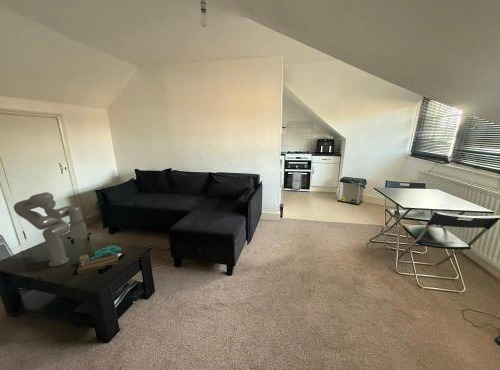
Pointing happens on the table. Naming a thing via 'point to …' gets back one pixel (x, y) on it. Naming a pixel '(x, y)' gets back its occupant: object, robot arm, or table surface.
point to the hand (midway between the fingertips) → (81, 242)
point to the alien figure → (106, 251)
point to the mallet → (84, 259)
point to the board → (97, 263)
